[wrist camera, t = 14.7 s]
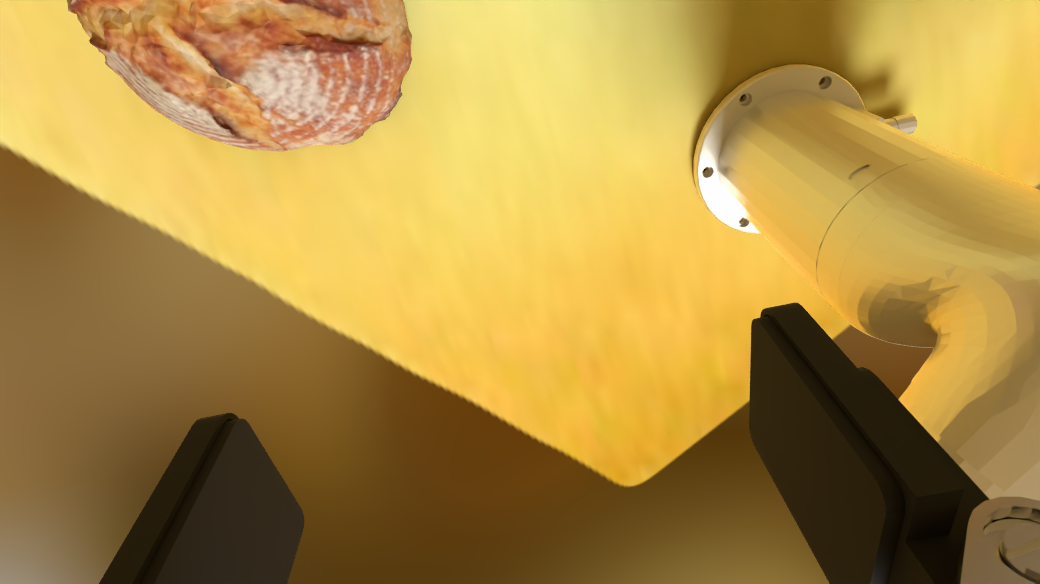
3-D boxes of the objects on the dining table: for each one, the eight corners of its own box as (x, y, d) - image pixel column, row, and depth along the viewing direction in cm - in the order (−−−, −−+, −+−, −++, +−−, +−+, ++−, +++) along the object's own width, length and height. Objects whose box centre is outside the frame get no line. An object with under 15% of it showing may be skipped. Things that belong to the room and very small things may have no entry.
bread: (88, -204, 31) (-62, -279, 23) (441, -80, 35) (432, -102, 26) (97, 96, 38) (-14, 128, 30) (391, 172, 42) (370, 221, 33)
